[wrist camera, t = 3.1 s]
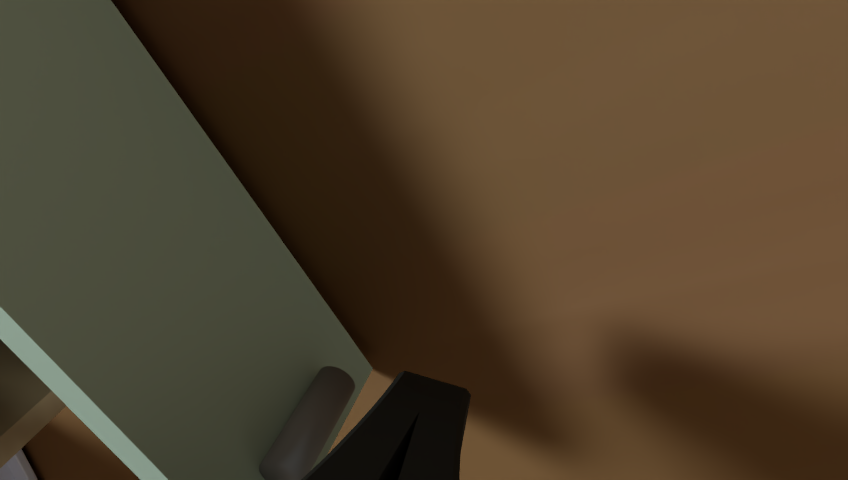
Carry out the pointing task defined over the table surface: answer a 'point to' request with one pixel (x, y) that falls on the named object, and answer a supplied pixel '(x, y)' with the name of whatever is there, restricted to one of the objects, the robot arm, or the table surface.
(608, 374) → the table surface
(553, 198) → the table surface
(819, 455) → the table surface
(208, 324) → the door
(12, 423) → the cabinet
